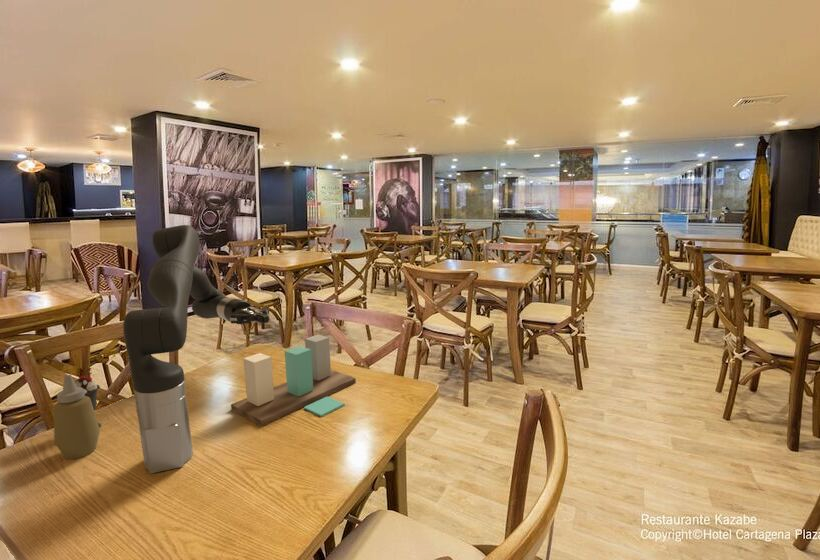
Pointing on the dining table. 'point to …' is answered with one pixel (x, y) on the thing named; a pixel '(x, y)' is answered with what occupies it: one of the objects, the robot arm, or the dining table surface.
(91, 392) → the sundae
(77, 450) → the squeeze bottle
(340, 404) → the pad
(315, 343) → the tall grey rectangular prism
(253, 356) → the cream tall rectangular block
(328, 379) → the dark wooden board
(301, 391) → the tall teal pillar
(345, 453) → the dining table surface
